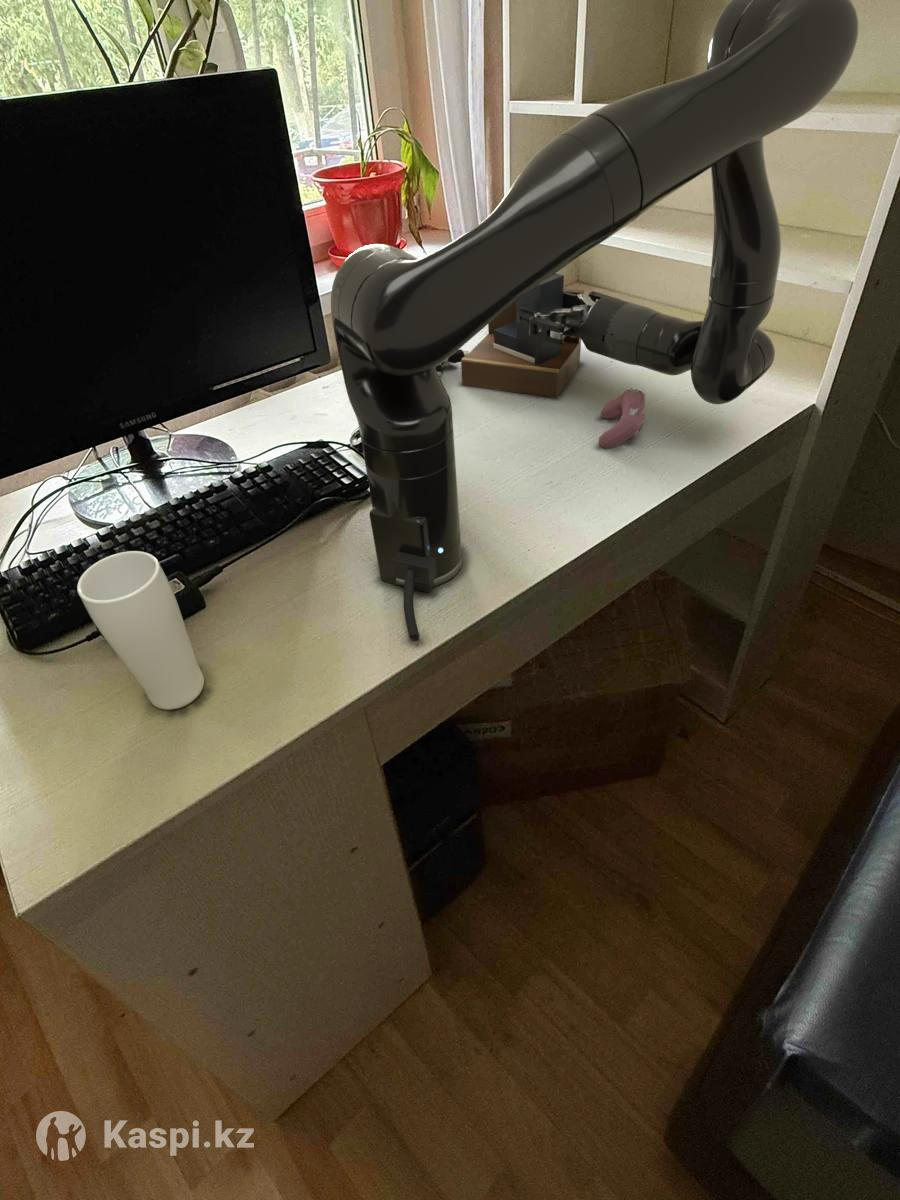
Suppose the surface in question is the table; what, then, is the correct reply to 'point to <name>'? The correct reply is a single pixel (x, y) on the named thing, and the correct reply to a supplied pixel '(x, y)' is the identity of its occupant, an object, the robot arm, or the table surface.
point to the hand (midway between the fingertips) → (538, 305)
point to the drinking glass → (143, 626)
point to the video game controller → (623, 417)
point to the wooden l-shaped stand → (519, 363)
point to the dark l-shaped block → (517, 334)
